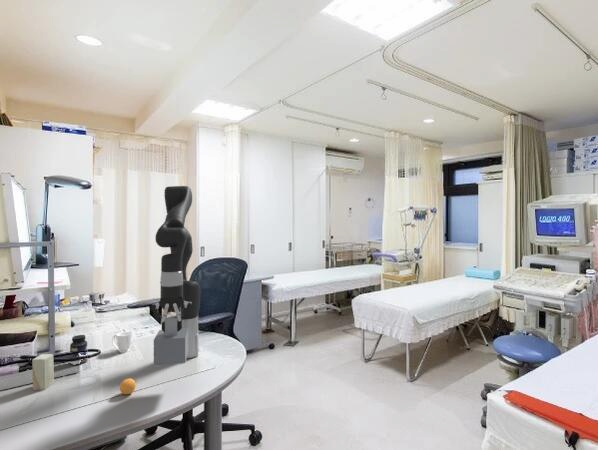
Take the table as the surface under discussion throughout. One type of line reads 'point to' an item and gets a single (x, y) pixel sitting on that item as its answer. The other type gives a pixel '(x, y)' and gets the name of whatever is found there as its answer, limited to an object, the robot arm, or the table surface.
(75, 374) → the table surface
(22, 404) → the table surface
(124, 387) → the ball
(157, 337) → the grey stepped block
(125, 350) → the cup
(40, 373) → the box
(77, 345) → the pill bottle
